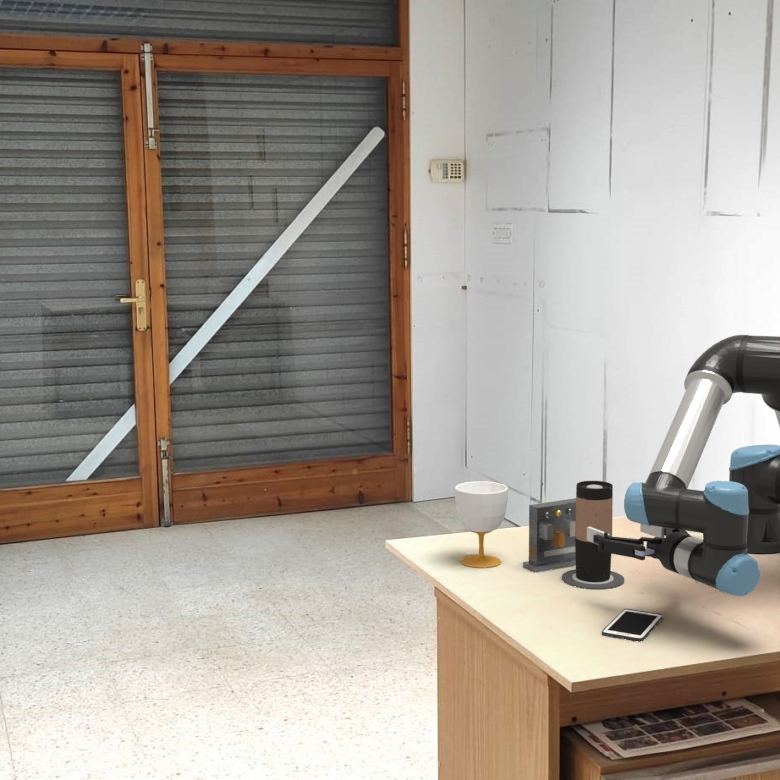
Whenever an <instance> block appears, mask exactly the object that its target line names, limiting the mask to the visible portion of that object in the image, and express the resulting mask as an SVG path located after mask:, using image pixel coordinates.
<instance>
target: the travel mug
mask: <svg viewBox="0 0 780 780" xmlns="http://www.w3.org/2000/svg"><path fill="white" fill-rule="evenodd" d="M613 486H614V485H613V484H612V483H611V482H607V481H602V480H584V481H579V482H577V483H576V488H575V489H576V490H575V498H576V523H575V557H576V565H575V569H576V577H577V578H578V579H579V580H582V581H586V582H604V581H607V580H609V579H610V571H612V570H611V567H612V554H610V553H604V552H599V551H598V545H597V544H595V543H592V542H590V541H587V527H592V528H595V529H597V530H600V531H603V532H608V534H610V536H612V537H613V497H614V495H613V494H614V493H613V492H614V491H613V489H614V488H613Z"/></svg>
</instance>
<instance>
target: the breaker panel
mask: <svg viewBox="0 0 780 780" xmlns="http://www.w3.org/2000/svg"><path fill="white" fill-rule="evenodd" d="M528 507H529V508H528V560H527V561H523V562H522V568H524V569H525V570H528V571H530V572H532V571H533V573H535V572H536V573H540V571H541V572H545V571H546V570H547V571H551V570H550V569H552V570H556V568H558V569H562V568H561V567H563V568H567V567H566V566H569V567H572V566H571V565H574V566H576V557H575V523H576V497H575V498H568V499H562V500H555V501H549V502H542V503H541V502H540V503H534V504H529V506H528Z"/></svg>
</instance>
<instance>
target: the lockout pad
mask: <svg viewBox="0 0 780 780" xmlns="http://www.w3.org/2000/svg"><path fill="white" fill-rule="evenodd" d="M562 580H563V581H564V582H563V581H562ZM561 581H562V582H563V583H565V584H566V583H567V585H568V584H569V586H572V587H574V586H576V587H575V588H578V587H580V588H579V589H584V588H586V589H587V590H607V589H606V588H610V589H614V588H613V587H615V588H617V586H618V587H620V585H621V586H622V585H623V584H624V583H625V577H624V576H623V574H620V573H619V572H616V571H612V570H611V571H610V579H609V580H607V581H604V582H586V581H582V580H579V579H578V578H577V577H576V568H575V569H570V570H567V571H565V572H564V573H562V575H561Z"/></svg>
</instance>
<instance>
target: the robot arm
mask: <svg viewBox="0 0 780 780" xmlns="http://www.w3.org/2000/svg"><path fill="white" fill-rule="evenodd" d="M683 383H684V385H683V387H684V390H685V392H684V394H683V396H682V398H681V401H680V403H679V406H678V408H677V410H676V412H675V414H674V417H673V419H672V420H671V421H672V422H671V424H670V426H669V428H668V431H667V433H666V435H665V438H664V440H663V442H662V445H661V447H660V449H659V451H658V454H657V455H656V458H655V460H654V463H653V466H652V467H651V470H650V472H649V474H648V476H647V479H646V481H645V482H642V481H641V482H637V481H636V482H632V483H631V484H630V485H628V487H627V489H626V491H625V494H624V500H623V510H624V513H625V516H626V518H627V519H628V520H629V521H630V522H632V523H637V524H640V531H639V532H641V533H643V534H646V535H649V536H651V537H647V536H640V538H630V537H620V536H619V537H618V536H613V535H612V536H610V534H608V532H603V531H600V530H597V529H595V528H592V527H587V541H590V542H592V543H595V544H597V545H598V551H599V552H604V553H610V554H611V555H617V556H623V557H628V558H633V559H636V560H639V561H645V560H646V557H650V558H653V559H658V560H659V563H661V565H662V567H663V568H664V569H666V570H667V571H671V572H673V573H675V574H678V575H681V576H684V577H686V578H689V579H691V580H693V581H694V582H695V583H701V584H703V585H706V586H709V587H711V588H713V589H715V590H717V591H719V592H721V593H723V594H724V593H726V594H729V595H732V596H735V597H745V596H747V595H750V593H752V592H753V591H754V590H755V589H756V588H757V586H758V584H759V583H760V578H761V568H760V565H759V563H758V561H757V559H756V558H755V557H752V556H751V555H750V554H775V553H780V445H779V444H756V445H746V446H742V447H738V448H736V449H734V450H733V451H732V452H731V454H730V463H729V468H728V471H729V476H728V477H729V478H728V479H729V480H713V481H709V482H707V483H706V484H705V486H704V490H698V489H691V488H689V486H690V483H691V480H692V479H693V477H694V474H695V471H696V468H697V467H698V465H699V463H700V462H699V461H700V459H701V457H702V454H703V452H704V450H705V448H706V446H707V442H708V440H709V438H710V436H711V433H712V432H713V431H712V430H713V428H714V427H715V426H714V425H715V424H716V421H717V419H718V416H719V414H720V412H721V409H722V407H723V406H724V405H726V404H727V403H729V401H730V400H731V398H732V396H733V394H735V393H743V394H753V395H756V394H757V395H761V397H762V400H763V402H764V404H765V405H766V406H767V407H768V408H770V409H772V410H773V411H774V413H775V416H776V419H777V423H778V426H779V427H780V336H778V335H777V336H775V335H750V334H749V335H748V334H737V335H731V336H729V337H726V338H723V339H721V340H719V341H718V342H716V343H714V344H712V345H711V346H710V347H709V348H707V349H706V350H705V351H703V353H702V354H700V356H699V357H698V358H697V359H696V360H695V361H694V362H693V364H692V365H691V366H690V368H689V370H688V372H687V374H686V376H685V379H684V382H683ZM689 532H693V533H699V534H702V538H700V537H698V536H697V537H696V536H693V535H690V534H689ZM645 542H646V544H645ZM645 545H646V546H645ZM748 553H750V554H748Z"/></svg>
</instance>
